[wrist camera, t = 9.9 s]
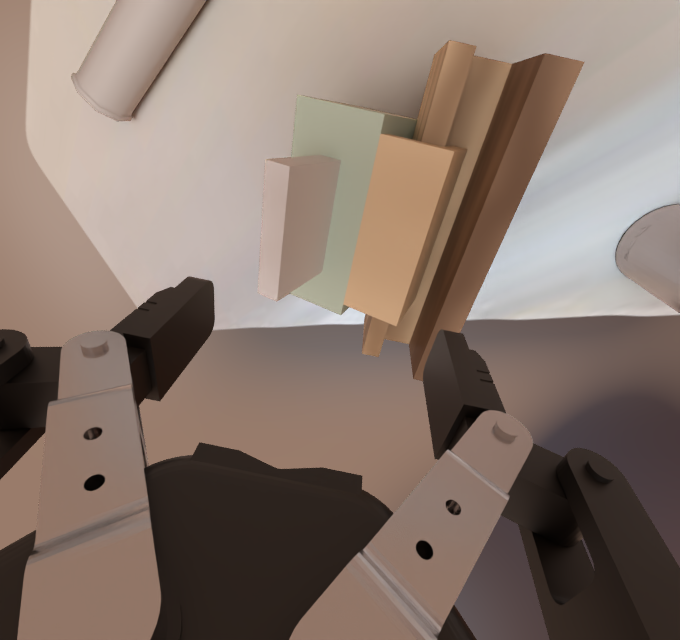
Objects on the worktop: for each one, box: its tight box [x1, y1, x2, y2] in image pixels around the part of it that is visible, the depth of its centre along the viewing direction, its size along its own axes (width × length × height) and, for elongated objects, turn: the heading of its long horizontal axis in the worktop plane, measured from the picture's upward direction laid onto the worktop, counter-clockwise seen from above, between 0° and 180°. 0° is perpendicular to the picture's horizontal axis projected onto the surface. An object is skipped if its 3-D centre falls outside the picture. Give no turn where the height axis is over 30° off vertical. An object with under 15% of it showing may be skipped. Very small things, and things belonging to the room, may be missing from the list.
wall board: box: [362, 40, 584, 381], centre depth 31 cm, size 12×22×20 cm, turn 169°
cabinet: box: [258, 95, 468, 326], centre depth 25 cm, size 10×14×16 cm
